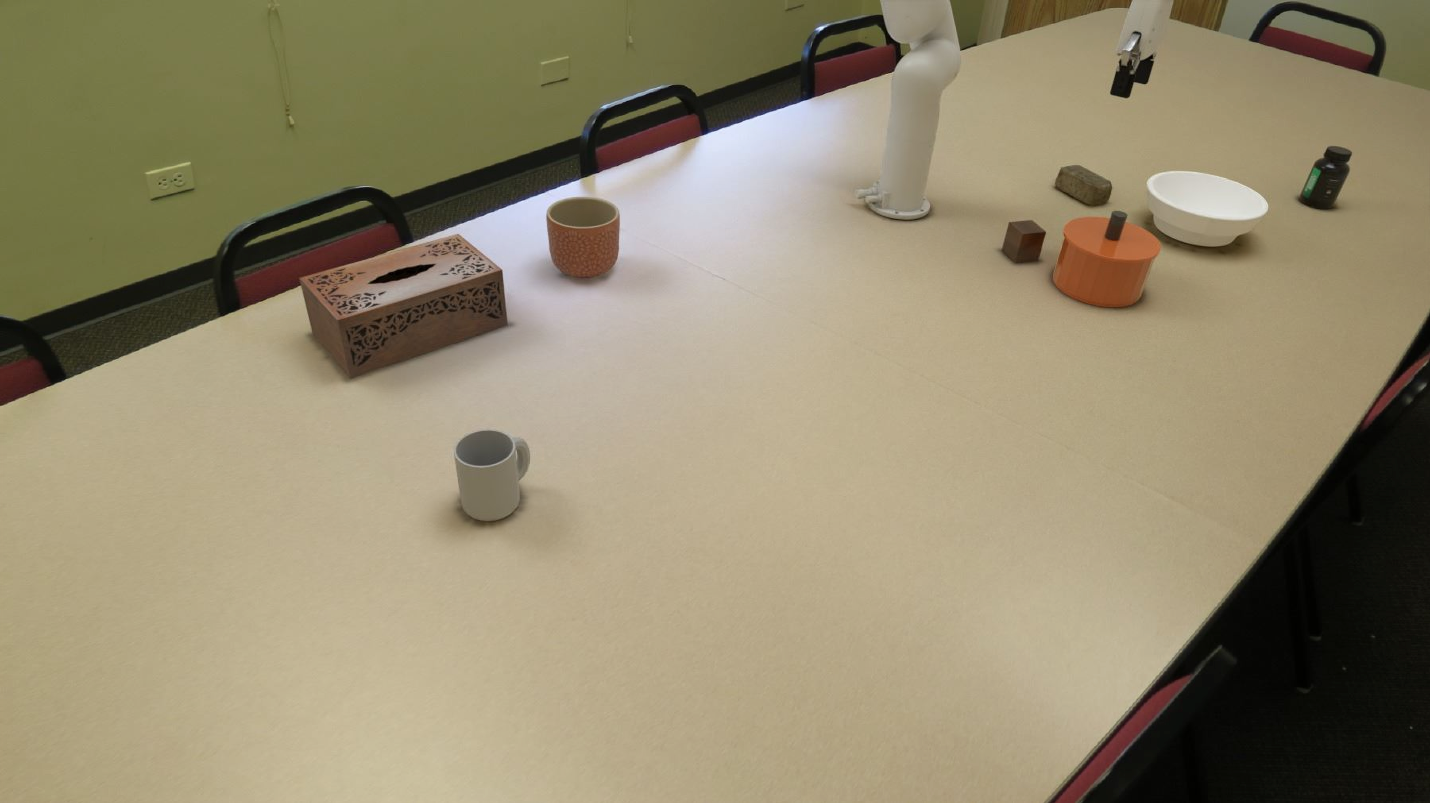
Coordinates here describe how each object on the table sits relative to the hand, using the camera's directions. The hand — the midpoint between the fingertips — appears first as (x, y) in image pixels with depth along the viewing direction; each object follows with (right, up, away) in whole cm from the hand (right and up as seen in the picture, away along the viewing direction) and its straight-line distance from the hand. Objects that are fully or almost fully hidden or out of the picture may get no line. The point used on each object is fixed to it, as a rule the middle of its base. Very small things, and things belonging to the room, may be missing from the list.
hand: (1128, 89), depth 164 cm
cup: (-98, -66, -43) cm, 126 cm away
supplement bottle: (+60, -10, +45) cm, 76 cm away
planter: (-94, -30, +5) cm, 99 cm away
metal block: (-13, -26, +17) cm, 34 cm away
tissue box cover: (-119, -42, -13) cm, 127 cm away
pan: (-2, -32, +10) cm, 34 cm away
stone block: (+7, -9, +41) cm, 43 cm away
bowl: (+26, -19, +30) cm, 44 cm away
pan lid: (-1, -25, +4) cm, 26 cm away
